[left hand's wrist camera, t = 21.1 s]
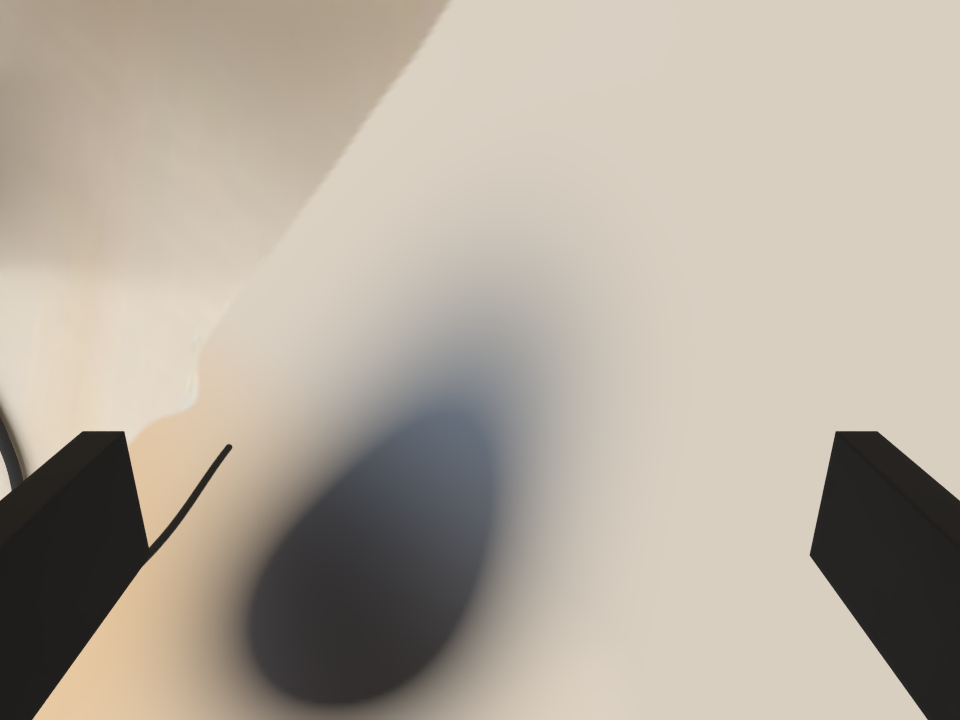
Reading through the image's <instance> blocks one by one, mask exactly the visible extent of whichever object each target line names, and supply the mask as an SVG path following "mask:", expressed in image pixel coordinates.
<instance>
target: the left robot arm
mask: <svg viewBox="0 0 960 720" xmlns="http://www.w3.org/2000/svg"><path fill="white" fill-rule="evenodd" d="M231 449H232V445H231V444H227V445H226V446H225V448H224V449H223V450H222V451H221V453H220V454H219V455H218V457H217V458H216V459H215V461H214V462H213V463H212V465H211V466H210V468H209V469H208V471H207V472H206V473H205V475H204V476H203V478H202V479H201V481H200V482H199V484H198V485H197V486H196V488H195V489H194V491H193V492H192V494H191V495H190V497H189V498H188V500H187V501H186V502H185V504H184V505H183V507H182V508H181V509H180V511H179V512H178V514H177V515H176V516H175V517H174V519H173V520H172V521H171V523H170V524H169V525H168V526H167V528H166V529H165V530H164V531H163V532H162V534H161V535H160V536H159V537H158V538H157V539H156V540H155V542H154V543H153V544H152V545H151V546H150V547H148V542H147V537H146V533H145V528H144V523H143V518H142V514H141V509H140V504H139V499H138V495H137V490H136V485H135V480H134V476H133V471H132V466H131V461H130V457H129V452H128V447H127V442H126V438H125V433H124V431H83V432H81V433H80V434H79V435H78V436H77V437H75V438H74V439H73V440H72V441H71V442H69V443H68V444H67V445H66V446H65V447H64V448H62V449H61V450H60V451H59V452H58V453H56V454H55V455H54V456H53V457H52V458H50V459H49V460H48V461H47V462H46V463H45V464H43V465H42V466H41V467H40V468H39V469H37V470H36V471H35V472H34V473H33V474H32V475H30V476H29V477H28V478H27V479H26V480H24V481H23V477H22V473H21V469H20V465H19V462H18V459H17V456H16V453H15V451H14V448H13V445H12V443H11V440H10V438H9V436H8V433H7V431H6V429H5V426H4V424H3V422H2V420H1V418H0V451H1V454H2V456H3V459H4V462H5V465H6V468H7V471H8V475H9V479H10V484H11V489H12V491H11V492H10V493H9V494H8V495H7V496H5V497H4V498H3V499H2V500H1V501H0V720H32V719H33V718H34V716H35V715H36V714H37V712H38V711H39V709H40V708H41V707H42V705H43V704H44V703H45V701H46V700H47V698H48V697H49V696H50V694H51V693H52V691H53V690H54V689H55V687H56V686H57V684H58V683H59V682H60V680H61V679H62V678H63V676H64V675H65V673H66V672H67V671H68V669H69V668H70V666H71V665H72V664H73V662H74V661H75V659H76V658H77V657H78V655H79V654H80V652H81V651H82V650H83V648H84V647H85V646H86V644H87V643H88V641H89V640H90V639H91V637H92V636H93V634H94V633H95V632H96V630H97V629H98V627H99V626H100V625H101V623H102V622H103V620H104V619H105V618H106V616H107V615H108V613H109V612H110V611H111V609H112V608H113V607H114V605H115V604H116V602H117V601H118V600H119V598H120V597H121V595H122V594H123V593H124V591H125V590H126V588H127V587H128V586H129V584H130V583H131V581H132V580H133V579H134V577H135V576H136V575H137V573H138V572H139V570H140V569H141V568H142V567H143V566H144V565H145V564H146V563H147V562H148V560H149V559H150V558H151V557H152V556H153V555H154V554H155V553H156V552H157V551H158V550H159V549H160V548H161V546H162V545H163V544H164V543H165V542H166V541H167V540H168V538H169V537H170V536H171V535H172V533H173V532H174V531H175V530H176V528H177V527H178V526H179V524H180V523H181V522H182V520H183V519H184V517H185V516H186V515H187V513H188V512H189V510H190V509H191V507H192V506H193V505H194V503H195V502H196V500H197V499H198V497H199V496H200V494H201V493H202V491H203V490H204V488H205V487H206V485H207V484H208V482H209V481H210V479H211V478H212V476H213V475H214V473H215V472H216V470H217V469H218V467H219V466H220V464H221V463H222V462H223V460H224V459H225V457H226V456H227V455H228V453H229V452H230V451H231ZM810 556H811V558H812V559H813V561H814V562H815V563H816V565H817V566H818V568H819V569H820V570H821V572H822V573H823V575H824V576H825V577H826V579H827V580H828V581H829V583H830V584H831V586H832V587H833V588H834V590H835V591H836V593H837V594H838V595H839V597H840V598H841V600H842V601H843V602H844V604H845V605H846V606H847V608H848V609H849V611H850V612H851V614H852V615H853V616H854V618H855V619H856V620H857V622H858V623H859V625H860V626H861V627H862V629H863V630H864V632H865V633H866V634H867V636H868V637H869V639H870V640H871V641H872V643H873V644H874V646H875V647H876V648H877V650H878V651H879V652H880V654H881V655H882V656H883V658H884V659H885V661H886V662H887V664H888V665H889V666H890V668H891V669H892V670H893V672H894V673H895V675H896V676H897V677H898V679H899V680H900V682H901V683H902V684H903V686H904V687H905V689H906V690H907V691H908V693H909V694H910V696H911V697H912V698H913V700H914V701H915V703H916V704H917V705H918V707H919V708H920V709H921V711H922V712H923V714H924V715H925V716H926V718H927V719H928V720H960V501H959V500H958V499H957V498H956V497H955V496H953V495H952V494H951V493H950V492H949V491H947V490H946V489H945V488H944V487H943V486H942V485H940V484H939V483H938V482H937V481H936V480H934V479H933V478H932V477H931V476H930V475H928V474H927V473H926V472H925V471H924V470H923V469H921V468H920V467H919V466H918V465H917V464H915V463H914V462H913V461H912V460H911V459H910V458H908V457H907V456H906V455H905V454H904V453H902V452H901V451H900V450H899V449H898V448H896V447H895V446H894V445H893V444H892V443H891V442H889V441H888V440H887V439H886V438H885V437H883V436H882V435H881V434H880V433H879V432H877V431H836V433H835V438H834V442H833V447H832V452H831V457H830V461H829V466H828V471H827V476H826V480H825V485H824V490H823V495H822V499H821V504H820V509H819V513H818V518H817V523H816V528H815V532H814V537H813V542H812V547H811V551H810Z"/></svg>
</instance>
